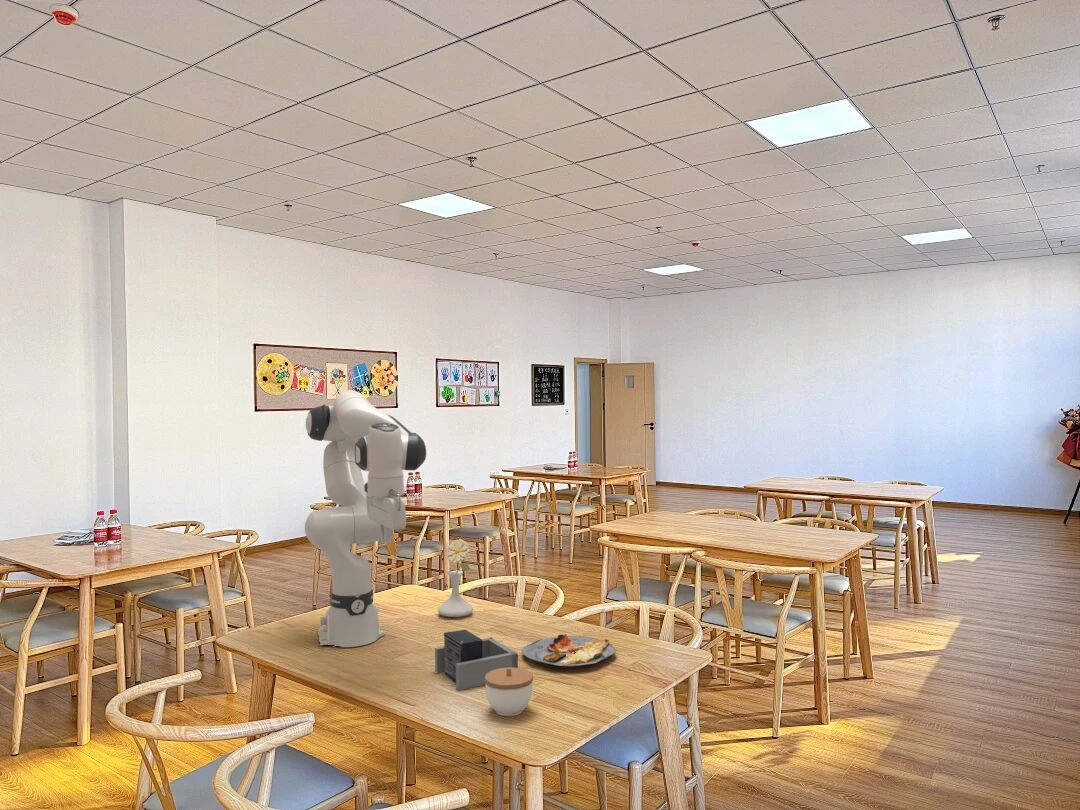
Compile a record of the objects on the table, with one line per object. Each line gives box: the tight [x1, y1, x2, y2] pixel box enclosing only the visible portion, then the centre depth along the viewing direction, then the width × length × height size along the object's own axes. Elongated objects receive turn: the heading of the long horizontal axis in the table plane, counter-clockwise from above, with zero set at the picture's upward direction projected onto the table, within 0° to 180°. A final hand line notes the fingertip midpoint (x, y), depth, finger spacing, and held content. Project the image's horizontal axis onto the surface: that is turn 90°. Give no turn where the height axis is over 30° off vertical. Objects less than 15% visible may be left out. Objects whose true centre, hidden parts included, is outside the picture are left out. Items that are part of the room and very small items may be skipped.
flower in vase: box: [437, 538, 474, 618], centre depth 240 cm, size 13×11×25 cm
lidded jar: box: [484, 667, 534, 717], centre depth 165 cm, size 11×11×9 cm
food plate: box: [521, 633, 617, 669], centre depth 200 cm, size 25×23×4 cm
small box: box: [443, 629, 483, 683], centre depth 185 cm, size 11×6×10 cm, turn 30°
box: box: [434, 637, 519, 691], centre depth 187 cm, size 15×16×6 cm
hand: (386, 542), depth 188 cm, fingers closed
